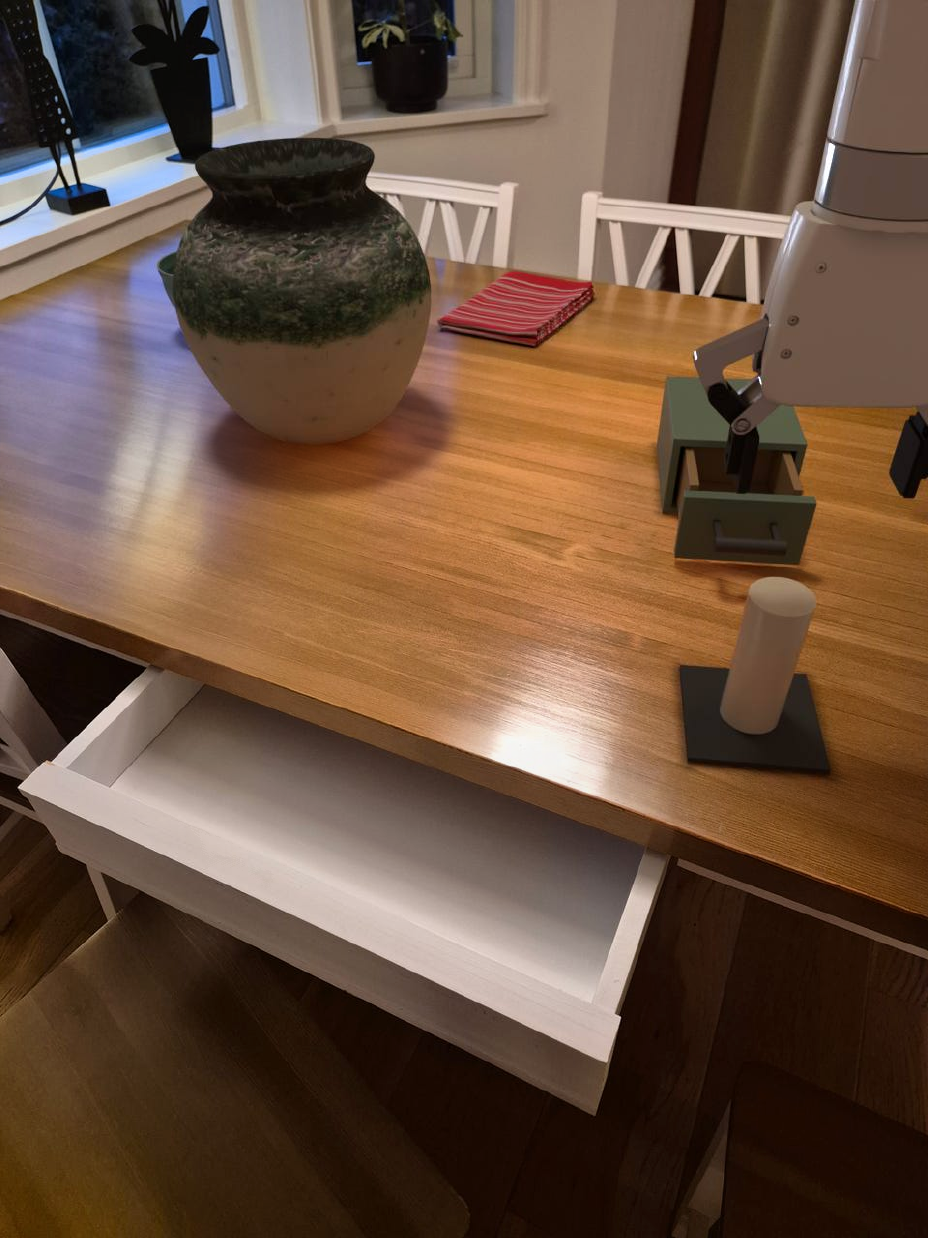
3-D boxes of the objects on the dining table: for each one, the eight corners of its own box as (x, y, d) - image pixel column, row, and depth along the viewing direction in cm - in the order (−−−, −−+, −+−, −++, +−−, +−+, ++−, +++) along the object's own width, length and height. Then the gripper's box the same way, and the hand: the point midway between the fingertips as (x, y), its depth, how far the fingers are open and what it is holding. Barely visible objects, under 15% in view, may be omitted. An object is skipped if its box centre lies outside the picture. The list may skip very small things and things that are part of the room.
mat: (804, 679, 67) (806, 673, 67) (829, 775, 60) (831, 770, 59) (679, 669, 69) (680, 664, 68) (687, 763, 61) (688, 757, 61)
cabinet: (787, 519, 85) (808, 444, 80) (662, 513, 87) (673, 438, 81) (767, 450, 96) (784, 379, 91) (656, 445, 98) (666, 375, 92)
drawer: (806, 593, 74) (826, 529, 70) (676, 585, 76) (688, 522, 71) (777, 490, 88) (792, 431, 83) (667, 484, 89) (676, 426, 85)
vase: (180, 485, 93) (98, 192, 74) (236, 379, 115) (184, 131, 96) (433, 481, 93) (417, 184, 73) (441, 375, 114) (430, 124, 95)
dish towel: (597, 297, 136) (598, 280, 134) (537, 348, 120) (538, 330, 119) (503, 283, 143) (503, 267, 141) (435, 330, 127) (434, 312, 125)
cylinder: (774, 695, 65) (810, 578, 58) (783, 737, 62) (822, 618, 55) (717, 690, 66) (745, 574, 58) (722, 732, 62) (753, 614, 55)
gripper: (1056, 160, 43) (947, 458, 54) (710, 167, 45) (672, 452, 56) (1127, 197, 37) (988, 522, 48) (726, 203, 39) (681, 513, 50)
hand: (818, 484), depth 52 cm, fingers open, 9 cm apart
